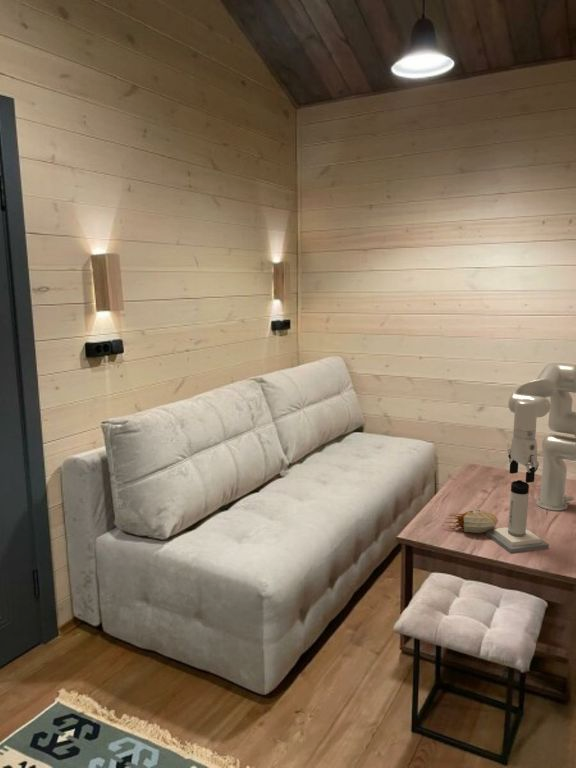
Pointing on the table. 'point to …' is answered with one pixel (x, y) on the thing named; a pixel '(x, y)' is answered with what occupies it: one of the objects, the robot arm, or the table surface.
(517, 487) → the travel mug
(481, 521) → the nautilus shell
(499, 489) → the table surface
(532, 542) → the pedestal
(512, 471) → the robot arm
